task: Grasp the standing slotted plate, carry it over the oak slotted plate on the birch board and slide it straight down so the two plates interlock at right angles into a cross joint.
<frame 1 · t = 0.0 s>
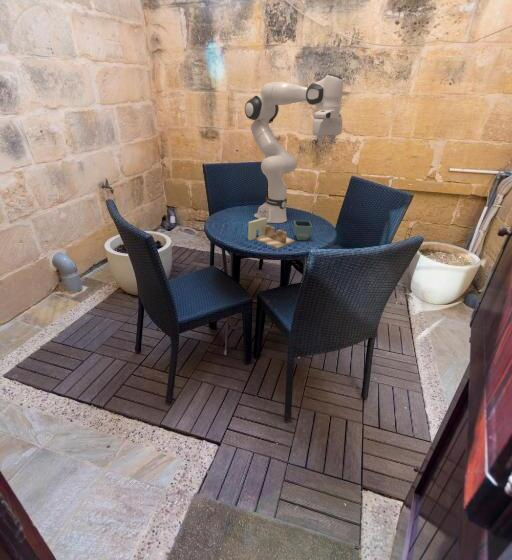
hand: (325, 144, 161), 48 cm above the table, fingers open, 8 cm apart
slot plate: (257, 237, 177), on the table
flower pot: (301, 239, 178), on the table
joint base: (275, 240, 173), on the table
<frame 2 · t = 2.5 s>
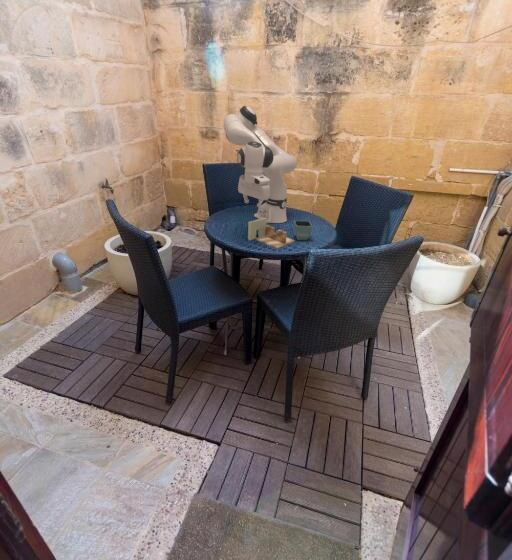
hand: (252, 204, 165), 19 cm above the table, fingers open, 8 cm apart
nothing on the table moved.
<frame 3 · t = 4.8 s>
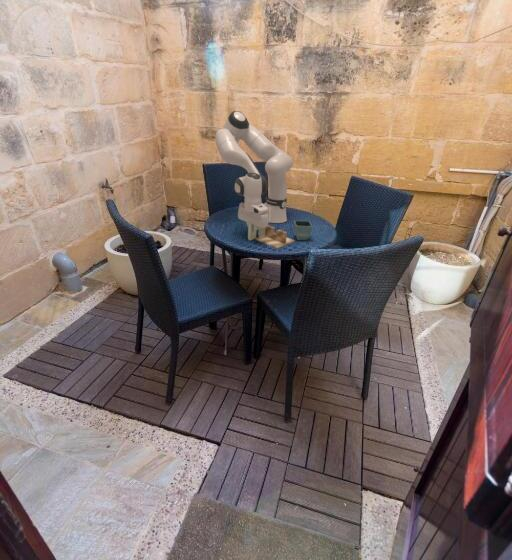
hand: (252, 231, 172), 5 cm above the table, fingers closed on slot plate, 2 cm apart
slot plate: (257, 237, 177), on the table, touching gripper
everything else where it was.
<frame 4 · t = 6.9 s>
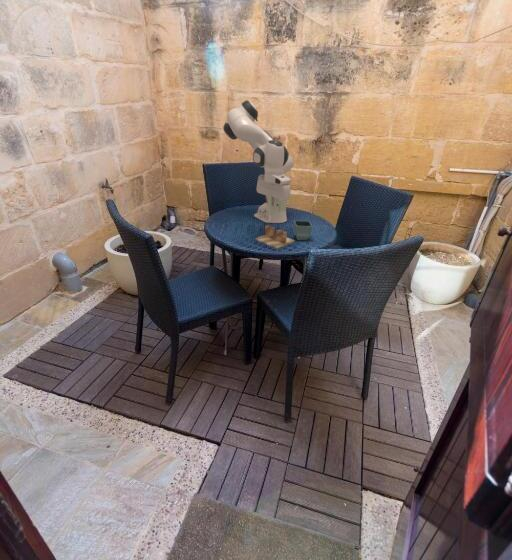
hand: (271, 205, 161), 20 cm above the table, fingers closed on slot plate
slot plate: (276, 212, 165), point 16 cm above the table, touching gripper
everything else where it was.
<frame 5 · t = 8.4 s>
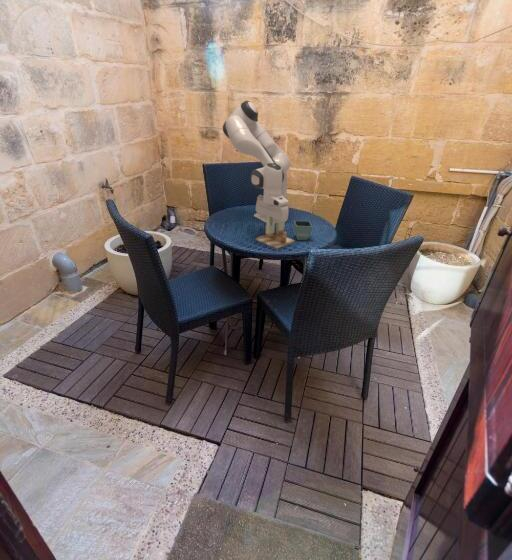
hand: (270, 224, 166), 10 cm above the table, fingers closed on slot plate
slot plate: (275, 231, 170), point 6 cm above the table, touching gripper
everything else where it was.
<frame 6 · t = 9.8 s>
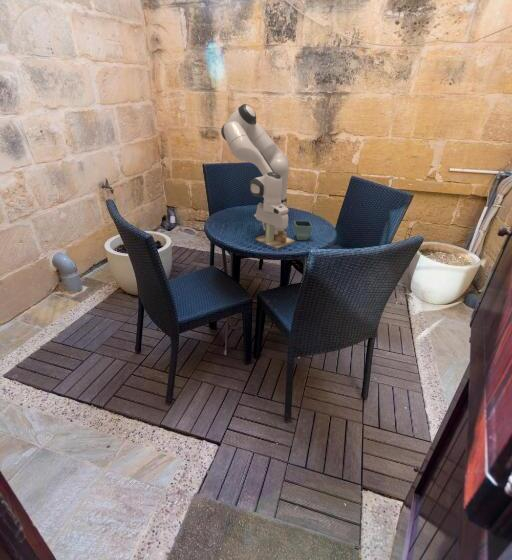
hand: (270, 232, 168), 6 cm above the table, fingers open, 6 cm apart
slot plate: (274, 239, 173), point 1 cm above the table, touching joint base
everything else where it was.
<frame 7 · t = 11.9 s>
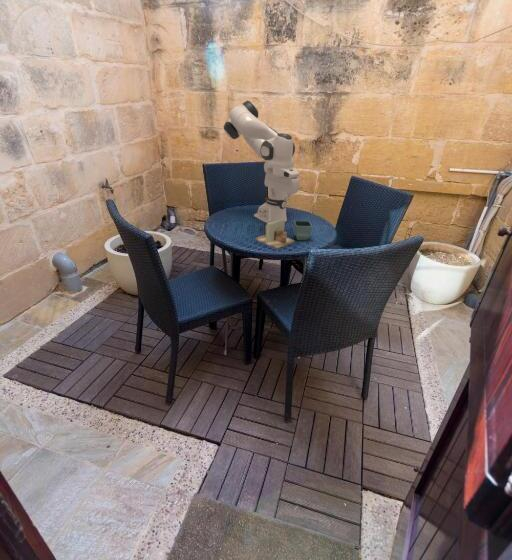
hand: (279, 198, 161), 23 cm above the table, fingers open, 8 cm apart
nothing on the table moved.
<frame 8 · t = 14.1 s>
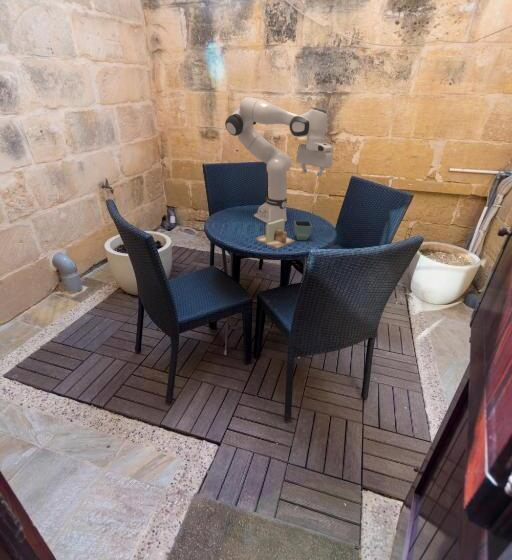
hand: (311, 174, 164), 34 cm above the table, fingers open, 8 cm apart
nothing on the table moved.
at the end: slot plate 0.3 cm off-centre on the joint base, point 1.0 cm above the joint base's base; slot plate tilted 0°; the gripper is holding nothing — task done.
